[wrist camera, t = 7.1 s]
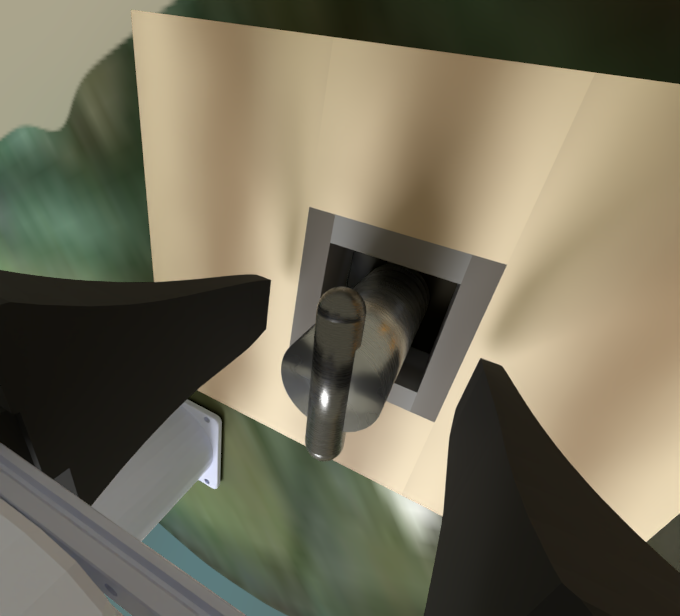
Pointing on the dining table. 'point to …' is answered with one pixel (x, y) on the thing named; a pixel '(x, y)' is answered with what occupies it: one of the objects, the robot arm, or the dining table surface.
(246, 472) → the dining table surface
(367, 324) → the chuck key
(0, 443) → the robot arm
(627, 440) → the block
